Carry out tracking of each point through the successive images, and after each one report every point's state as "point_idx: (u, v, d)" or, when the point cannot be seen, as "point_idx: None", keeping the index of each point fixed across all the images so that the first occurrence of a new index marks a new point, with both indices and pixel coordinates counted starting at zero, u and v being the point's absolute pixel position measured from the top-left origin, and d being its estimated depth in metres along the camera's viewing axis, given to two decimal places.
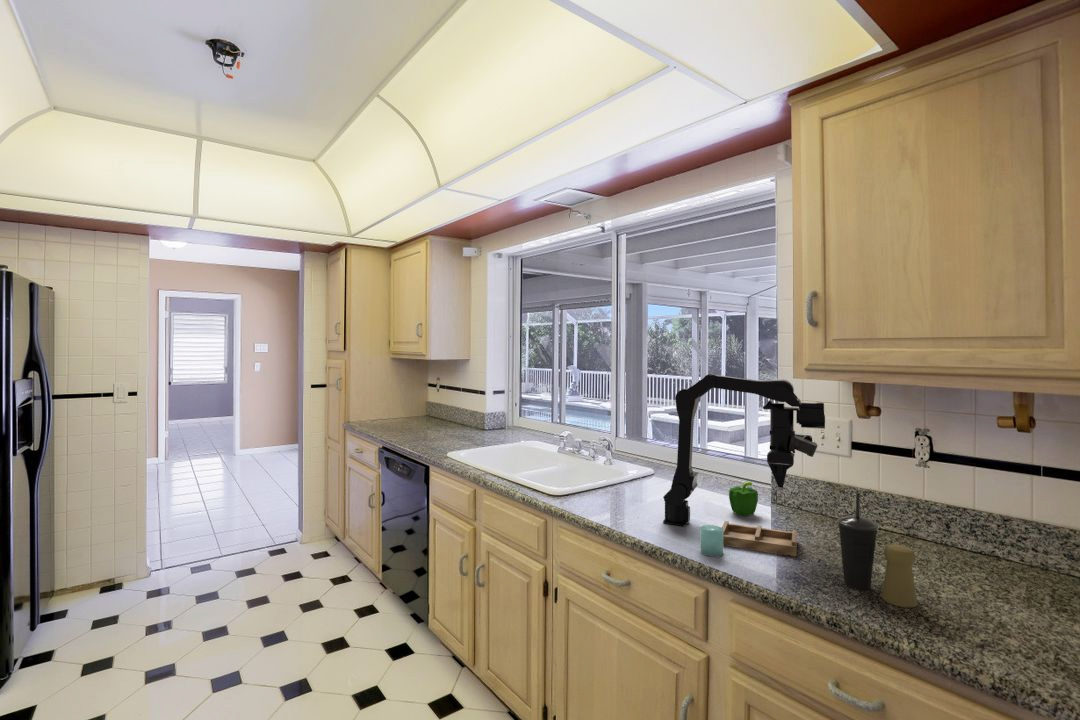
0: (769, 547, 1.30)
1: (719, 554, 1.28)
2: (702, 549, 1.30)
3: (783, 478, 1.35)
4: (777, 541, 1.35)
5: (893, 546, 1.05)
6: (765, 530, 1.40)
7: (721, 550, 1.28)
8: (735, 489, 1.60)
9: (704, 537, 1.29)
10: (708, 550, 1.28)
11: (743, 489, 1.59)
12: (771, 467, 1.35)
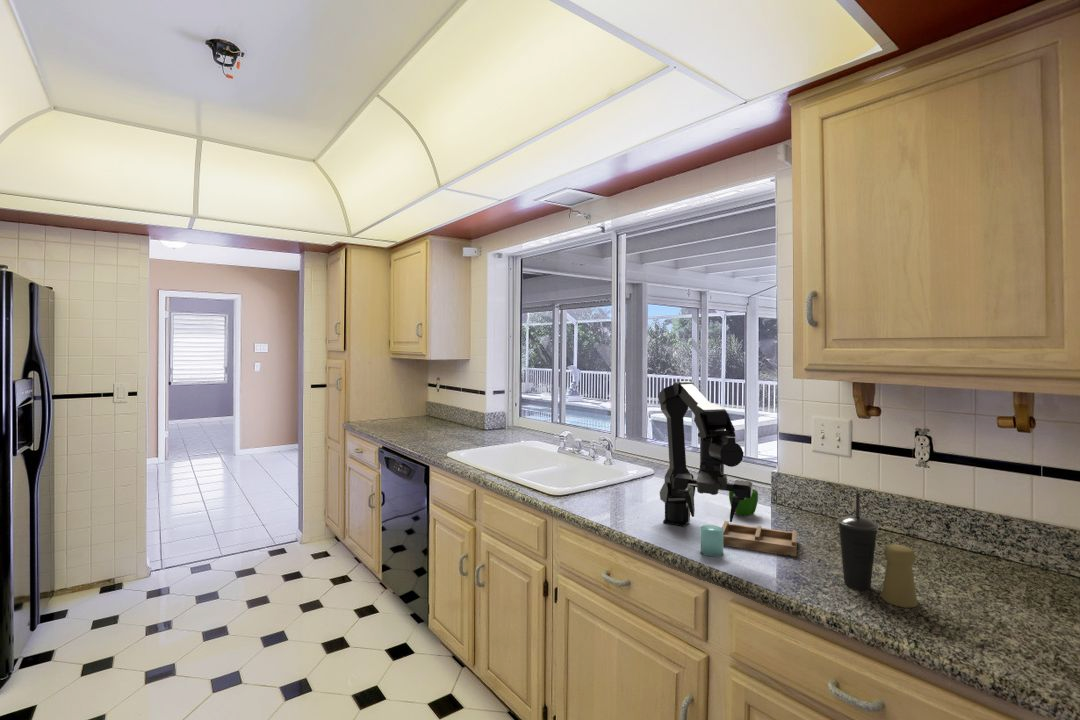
0: (769, 547, 1.30)
1: (719, 554, 1.28)
2: (702, 549, 1.30)
3: None
4: (777, 541, 1.35)
5: (893, 546, 1.05)
6: (765, 530, 1.40)
7: (721, 550, 1.28)
8: None
9: (703, 537, 1.29)
10: (708, 550, 1.28)
11: None
12: None
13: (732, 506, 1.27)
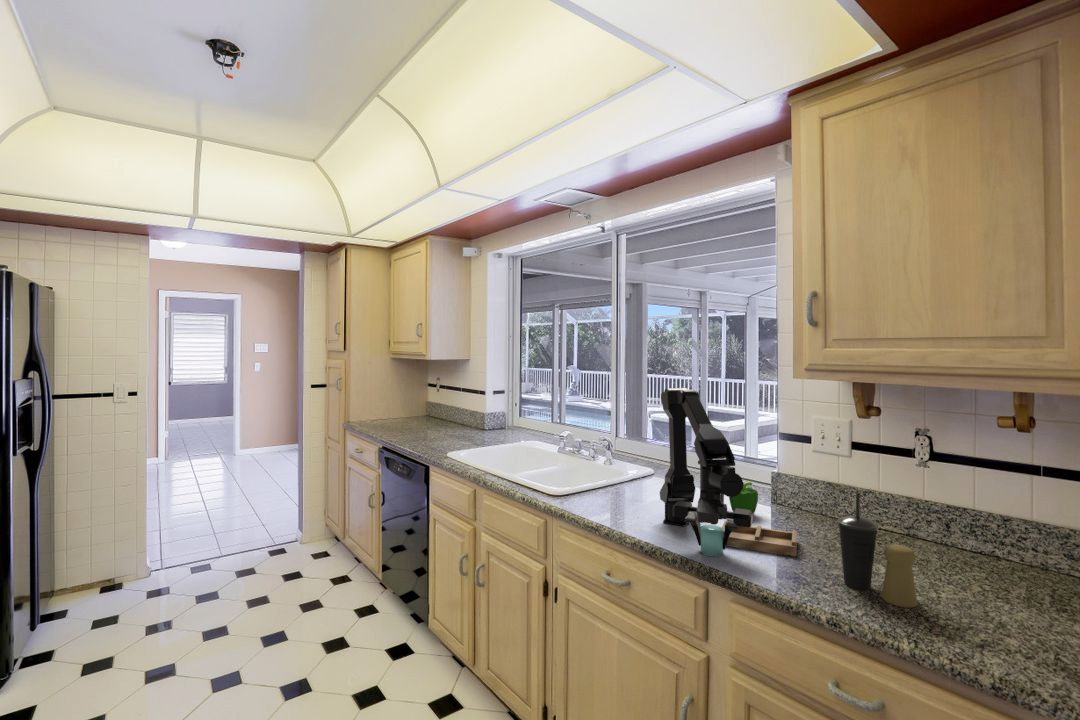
0: (769, 547, 1.30)
1: (719, 554, 1.28)
2: (702, 549, 1.30)
3: None
4: (777, 541, 1.35)
5: (893, 546, 1.05)
6: (765, 530, 1.40)
7: (721, 550, 1.28)
8: None
9: (703, 537, 1.29)
10: (708, 550, 1.28)
11: (743, 489, 1.59)
12: None
13: (725, 533, 1.28)
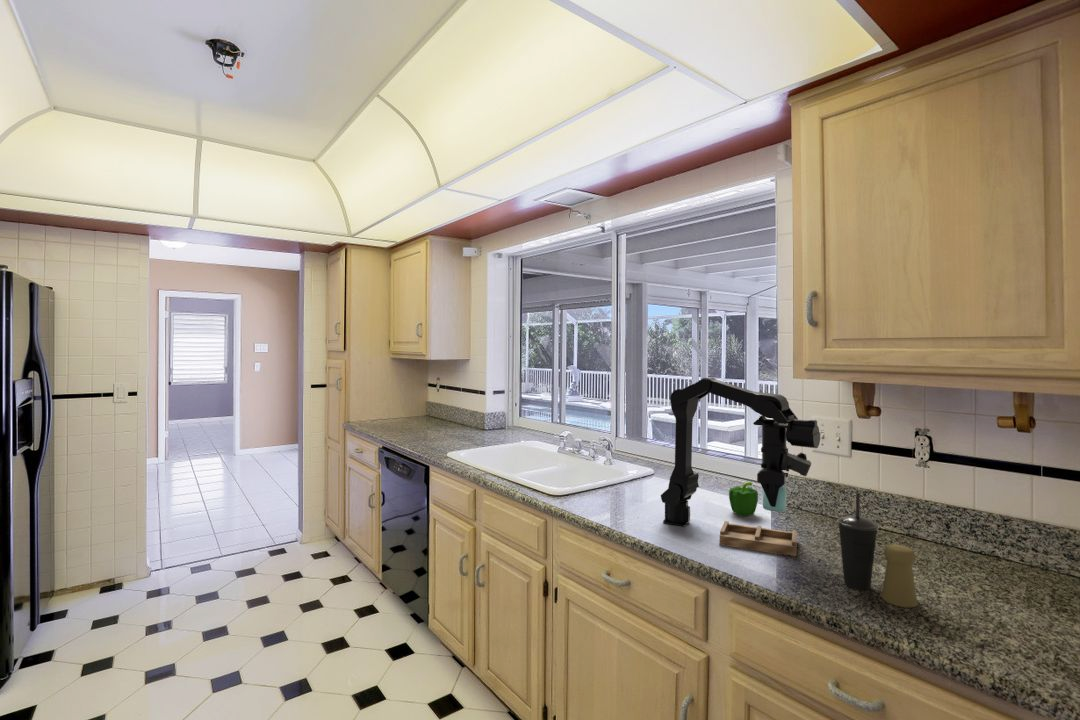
0: (769, 547, 1.30)
1: None
2: (782, 507, 1.31)
3: (775, 497, 1.30)
4: (777, 541, 1.35)
5: (893, 546, 1.05)
6: (765, 530, 1.40)
7: None
8: (735, 489, 1.60)
9: (783, 495, 1.31)
10: (785, 505, 1.32)
11: (743, 489, 1.59)
12: (763, 485, 1.30)
13: None
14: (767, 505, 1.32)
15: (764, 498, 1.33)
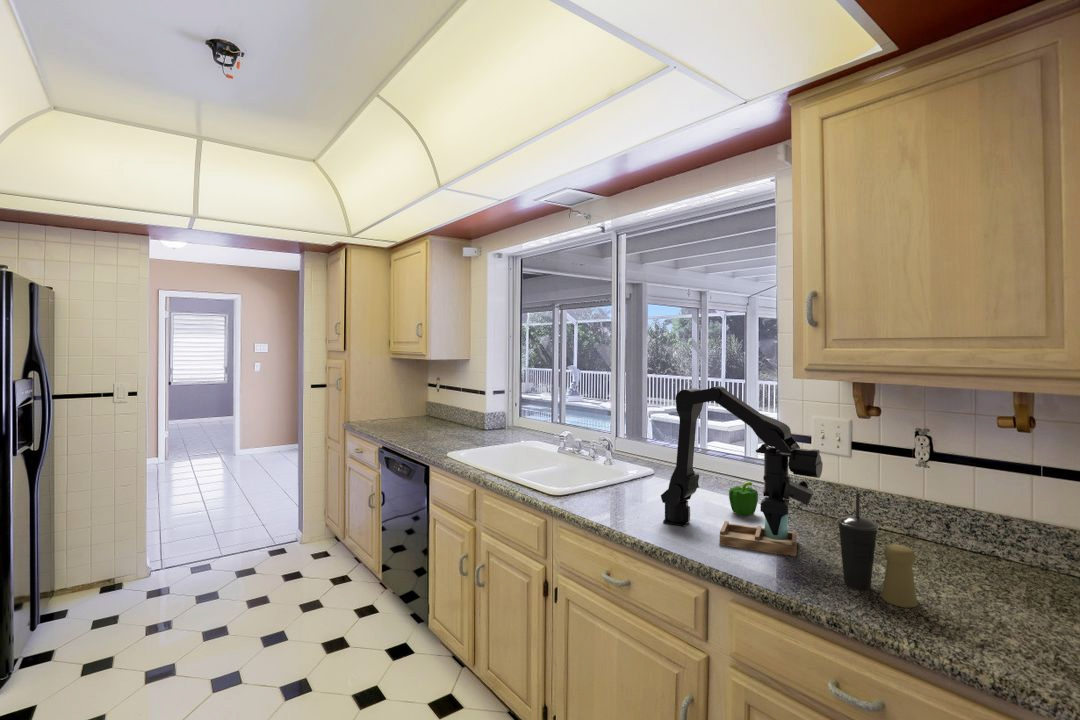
0: (769, 547, 1.30)
1: None
2: (784, 535, 1.32)
3: (777, 525, 1.30)
4: (777, 541, 1.35)
5: (893, 546, 1.05)
6: None
7: None
8: (735, 489, 1.60)
9: (785, 523, 1.32)
10: (787, 533, 1.33)
11: (743, 489, 1.59)
12: (765, 514, 1.31)
13: None
14: (769, 533, 1.33)
15: (766, 526, 1.34)
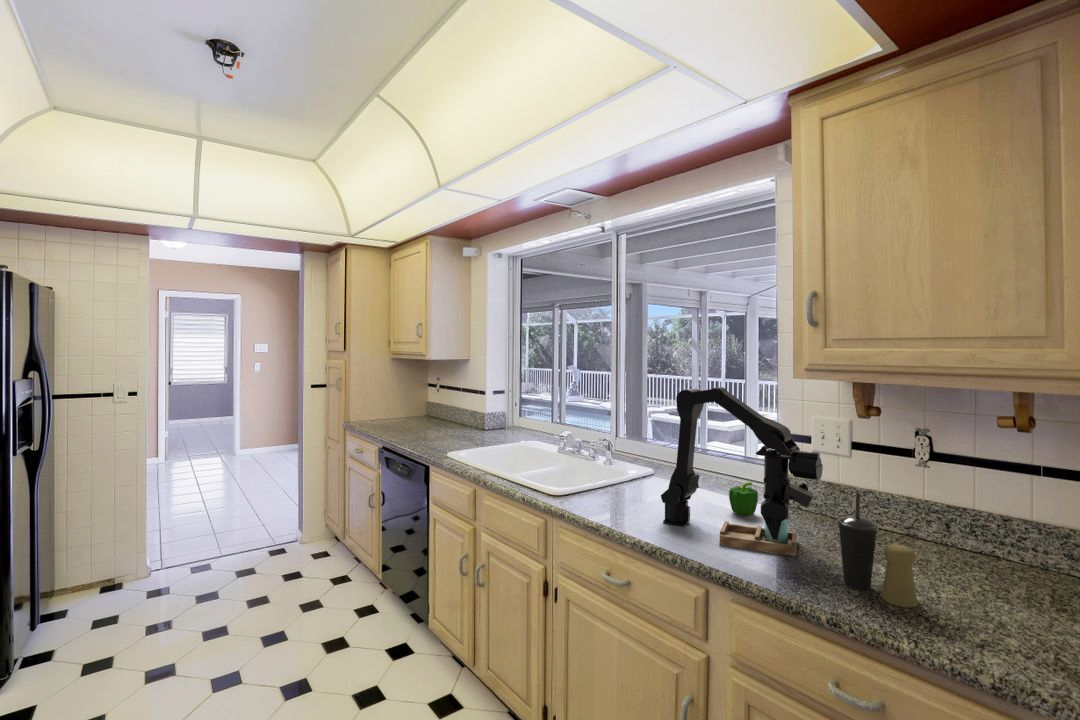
0: (769, 547, 1.30)
1: None
2: (784, 542, 1.32)
3: (777, 530, 1.29)
4: None
5: (893, 546, 1.05)
6: None
7: None
8: (735, 489, 1.60)
9: (785, 530, 1.32)
10: (787, 540, 1.33)
11: (743, 489, 1.59)
12: (765, 518, 1.29)
13: None
14: (769, 540, 1.33)
15: (766, 532, 1.34)
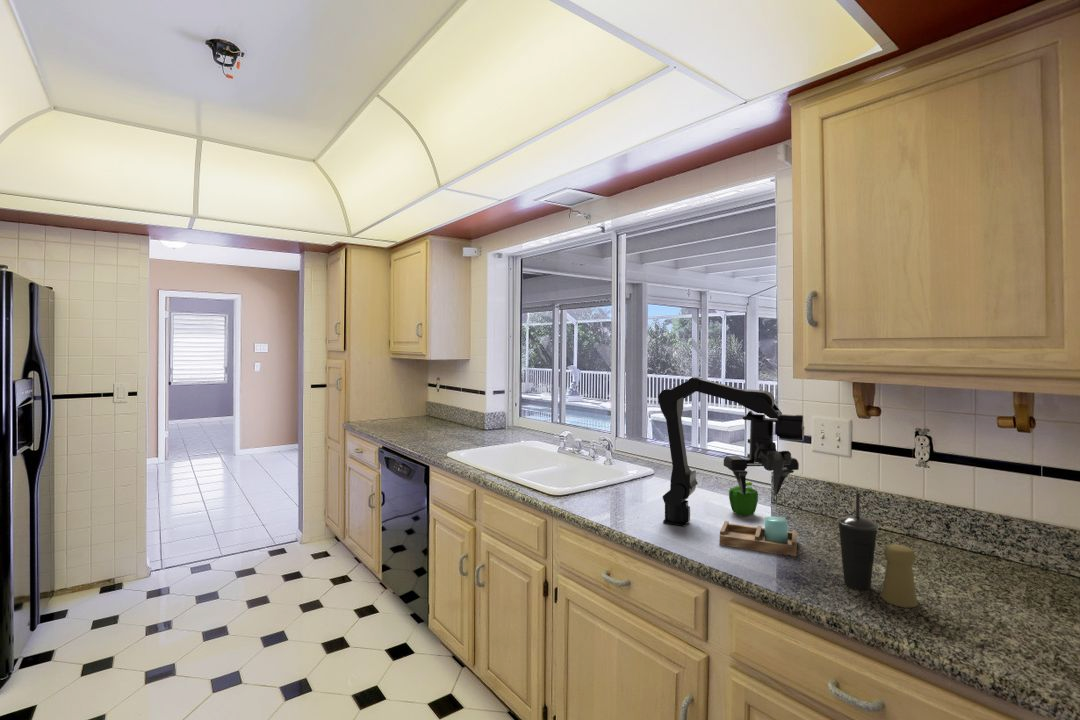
0: (769, 547, 1.30)
1: None
2: (784, 542, 1.32)
3: (741, 485, 1.40)
4: None
5: (893, 546, 1.05)
6: None
7: None
8: (735, 489, 1.60)
9: (785, 530, 1.32)
10: (787, 540, 1.33)
11: None
12: (733, 472, 1.42)
13: (780, 479, 1.40)
14: (769, 540, 1.33)
15: (766, 532, 1.34)
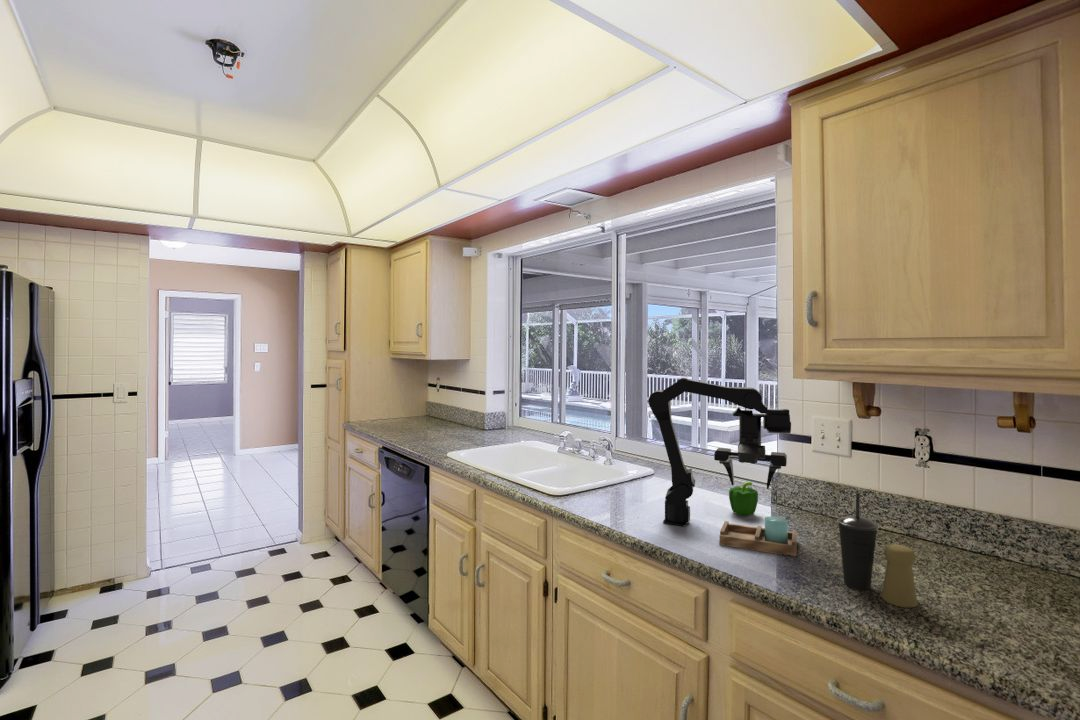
0: (769, 547, 1.30)
1: None
2: (784, 542, 1.32)
3: None
4: None
5: (893, 546, 1.05)
6: None
7: None
8: (735, 489, 1.60)
9: (785, 530, 1.32)
10: (787, 540, 1.33)
11: (743, 489, 1.59)
12: None
13: (769, 474, 1.43)
14: (769, 539, 1.33)
15: (766, 532, 1.34)
